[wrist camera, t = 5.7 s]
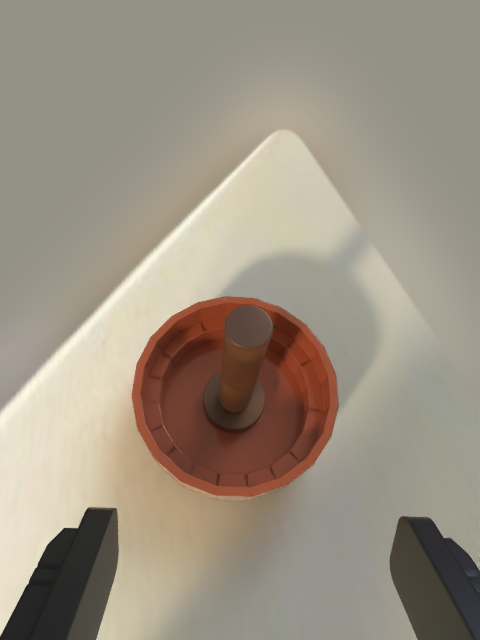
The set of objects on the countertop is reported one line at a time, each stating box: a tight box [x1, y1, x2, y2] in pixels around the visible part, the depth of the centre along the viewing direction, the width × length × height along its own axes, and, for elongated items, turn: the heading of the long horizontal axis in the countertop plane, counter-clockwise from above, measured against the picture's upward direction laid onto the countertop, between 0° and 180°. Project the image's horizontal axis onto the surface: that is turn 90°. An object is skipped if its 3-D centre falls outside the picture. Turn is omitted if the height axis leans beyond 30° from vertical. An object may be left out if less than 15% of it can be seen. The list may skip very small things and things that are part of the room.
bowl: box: [132, 297, 339, 501], centre depth 30 cm, size 14×14×5 cm
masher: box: [203, 305, 273, 433], centre depth 25 cm, size 5×5×14 cm
